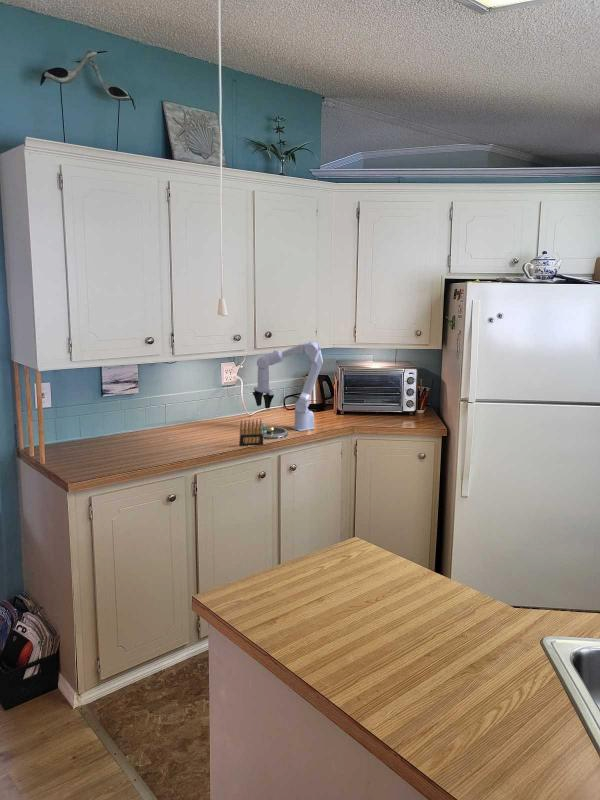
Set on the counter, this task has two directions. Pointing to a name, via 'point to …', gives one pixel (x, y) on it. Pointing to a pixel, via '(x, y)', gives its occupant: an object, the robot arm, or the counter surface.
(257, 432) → the ammunition clip
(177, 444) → the counter surface
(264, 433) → the teal mushroom knob
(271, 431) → the round metal bowl
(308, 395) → the robot arm
